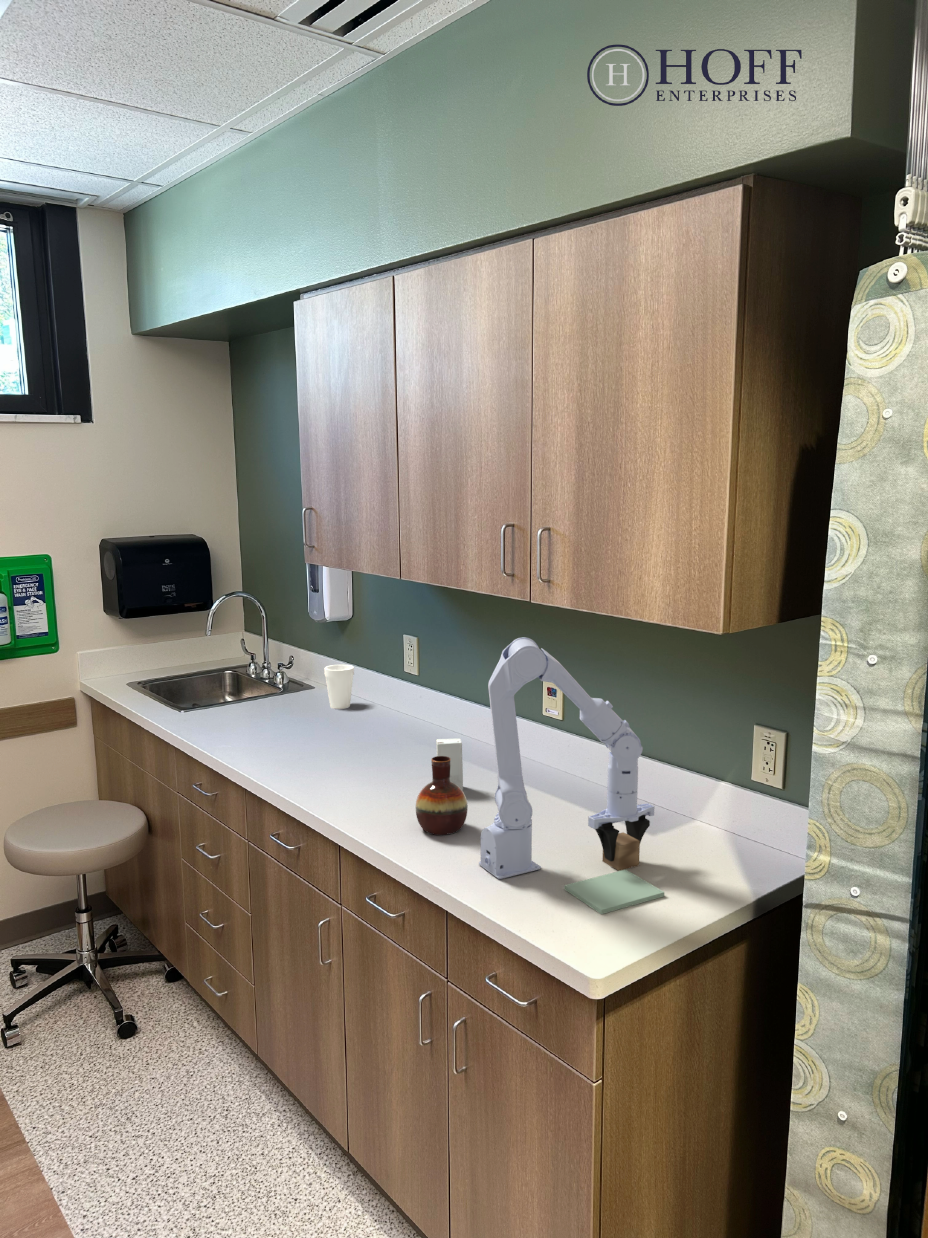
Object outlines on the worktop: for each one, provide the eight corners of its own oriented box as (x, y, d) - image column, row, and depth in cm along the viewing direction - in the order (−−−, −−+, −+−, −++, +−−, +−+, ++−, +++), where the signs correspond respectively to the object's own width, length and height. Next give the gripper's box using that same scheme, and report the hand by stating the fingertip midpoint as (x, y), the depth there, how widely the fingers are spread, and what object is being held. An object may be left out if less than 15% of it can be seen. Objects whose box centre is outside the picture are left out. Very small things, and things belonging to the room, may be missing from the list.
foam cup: (323, 704, 304) (322, 665, 302) (351, 702, 306) (350, 663, 304) (328, 711, 295) (327, 671, 293) (356, 709, 297) (355, 669, 295)
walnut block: (618, 871, 176) (619, 846, 175) (602, 861, 180) (602, 837, 179) (639, 865, 178) (639, 841, 177) (622, 856, 182) (623, 832, 181)
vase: (406, 833, 194) (405, 763, 192) (430, 815, 204) (429, 748, 202) (454, 841, 190) (453, 769, 187) (475, 823, 200) (475, 754, 197)
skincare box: (461, 785, 224) (461, 737, 222) (463, 792, 220) (463, 742, 218) (436, 786, 223) (435, 738, 221) (437, 792, 219) (437, 743, 217)
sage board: (601, 914, 158) (601, 910, 158) (564, 889, 168) (564, 885, 168) (664, 896, 165) (664, 892, 165) (625, 873, 174) (625, 869, 174)
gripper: (604, 802, 170) (603, 872, 172) (665, 789, 177) (663, 856, 179) (582, 790, 176) (580, 858, 178) (641, 778, 183) (640, 843, 185)
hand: (620, 856), depth 179 cm, fingers closed on walnut block, 5 cm apart
